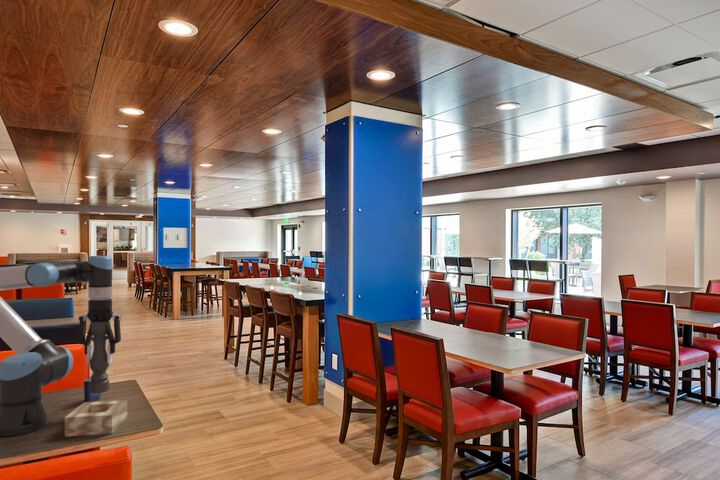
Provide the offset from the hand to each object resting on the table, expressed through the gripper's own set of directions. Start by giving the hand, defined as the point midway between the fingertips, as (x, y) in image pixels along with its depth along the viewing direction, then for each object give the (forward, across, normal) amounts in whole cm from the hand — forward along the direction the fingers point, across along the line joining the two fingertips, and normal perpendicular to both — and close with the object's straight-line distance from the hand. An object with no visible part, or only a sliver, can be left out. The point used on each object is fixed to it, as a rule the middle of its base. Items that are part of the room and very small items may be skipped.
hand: (99, 362), depth 167 cm
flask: (+18, -8, +14) cm, 24 cm away
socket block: (+18, +4, -13) cm, 23 cm away
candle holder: (+10, 0, 0) cm, 10 cm away
